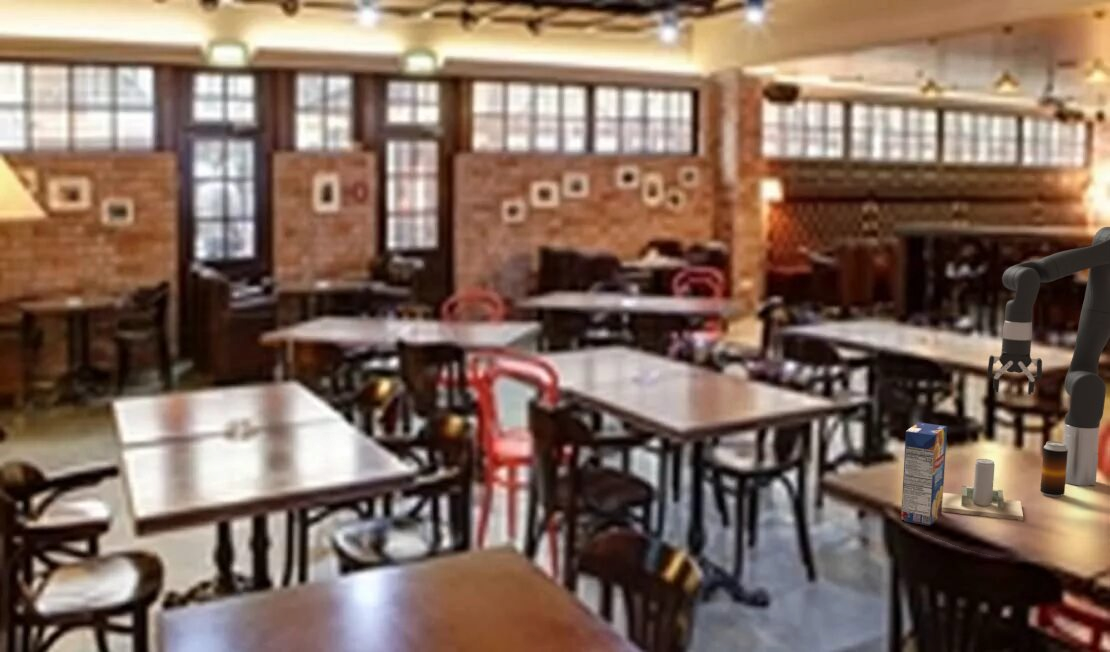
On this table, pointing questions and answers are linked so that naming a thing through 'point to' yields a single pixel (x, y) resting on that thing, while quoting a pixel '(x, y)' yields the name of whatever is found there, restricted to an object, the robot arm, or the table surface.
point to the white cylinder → (983, 482)
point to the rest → (996, 509)
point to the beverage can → (1054, 469)
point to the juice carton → (923, 473)
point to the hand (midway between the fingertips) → (1012, 392)
